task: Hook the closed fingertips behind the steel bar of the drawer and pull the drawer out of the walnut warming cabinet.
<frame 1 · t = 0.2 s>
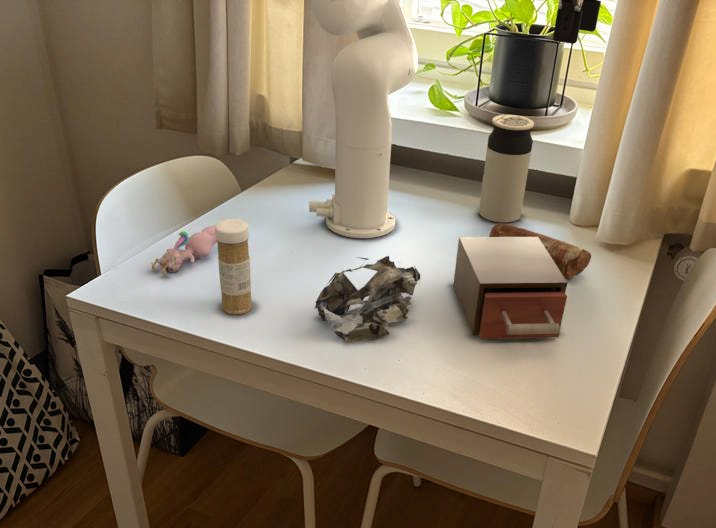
hand: (574, 35, 106), 37 cm above the table, tool pointing down, fingers open, 9 cm apart
bread: (531, 262, 131), on the table
foil: (367, 321, 112), on the table
drawer: (515, 302, 110), point 4 cm above the table, slide at 1.0 cm
warmer: (502, 309, 117), on the table
sprinkles bottle: (237, 309, 113), on the table
travel mug: (499, 216, 146), on the table
rabbit figure: (194, 260, 125), on the table
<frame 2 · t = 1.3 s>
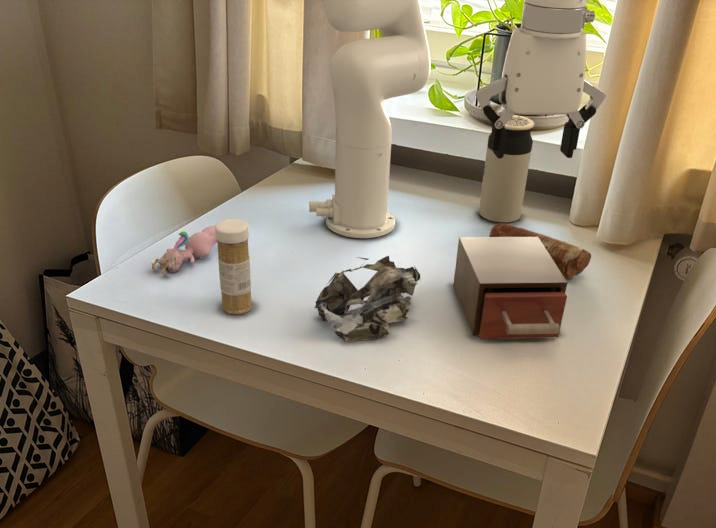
hand: (532, 154, 104), 24 cm above the table, tool pointing down, fingers open, 9 cm apart
nothing on the table moved.
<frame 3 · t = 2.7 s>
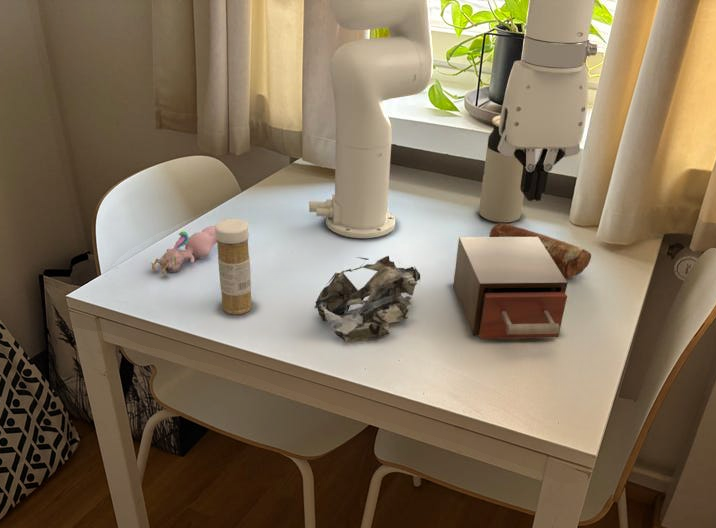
hand: (531, 196, 103), 20 cm above the table, tool pointing down, fingers closed
nothing on the table moved.
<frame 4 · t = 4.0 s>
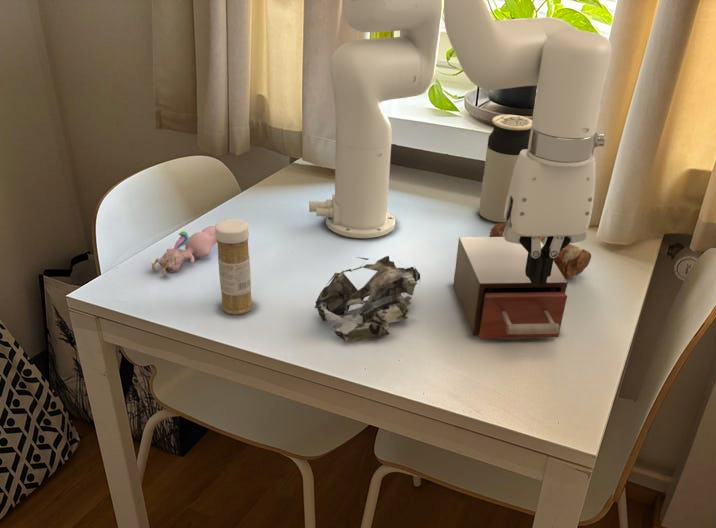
hand: (536, 280, 101), 11 cm above the table, tool pointing down, fingers closed
nothing on the table moved.
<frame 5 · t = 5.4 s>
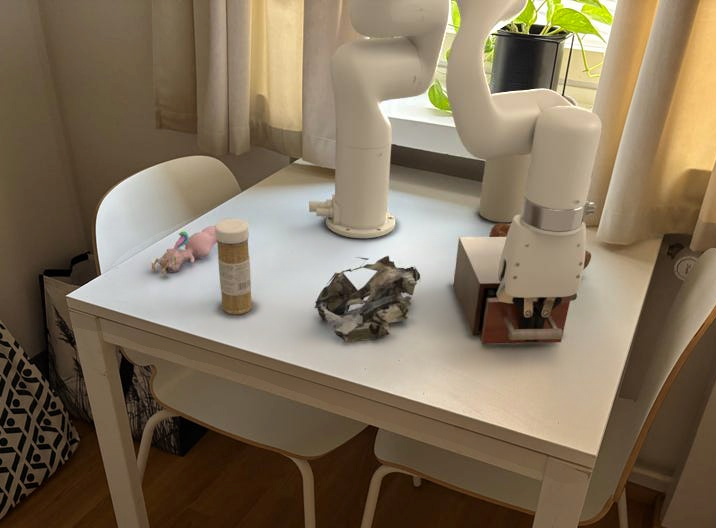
hand: (528, 336, 105), 3 cm above the table, tool pointing down, fingers closed
drawer: (517, 306, 109), point 4 cm above the table, slide at 2.3 cm, touching gripper
everything else where it was.
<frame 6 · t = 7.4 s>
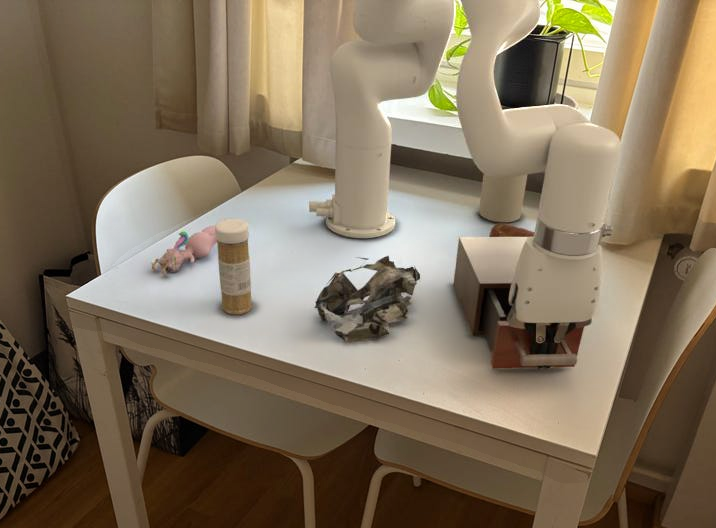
hand: (540, 362, 100), 3 cm above the table, tool pointing down, fingers closed
drawer: (529, 329, 104), point 4 cm above the table, slide at 8.3 cm
everything else where it was.
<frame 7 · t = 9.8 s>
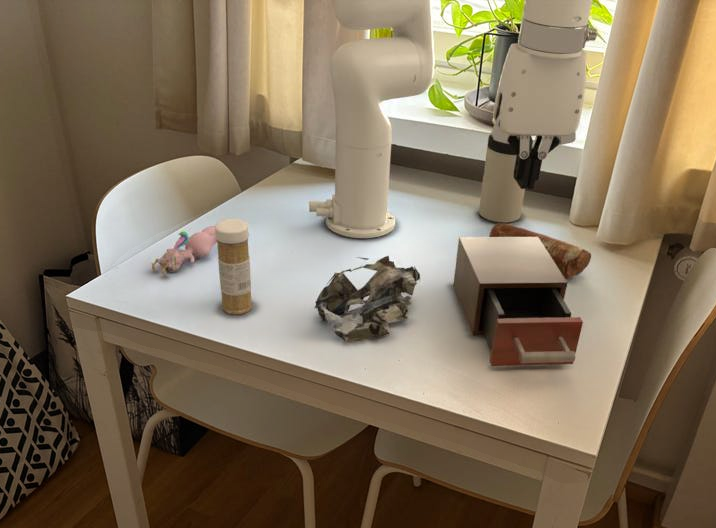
hand: (524, 184, 100), 22 cm above the table, tool pointing down, fingers closed
drawer: (528, 326, 105), point 4 cm above the table, slide at 7.7 cm
everything else where it was.
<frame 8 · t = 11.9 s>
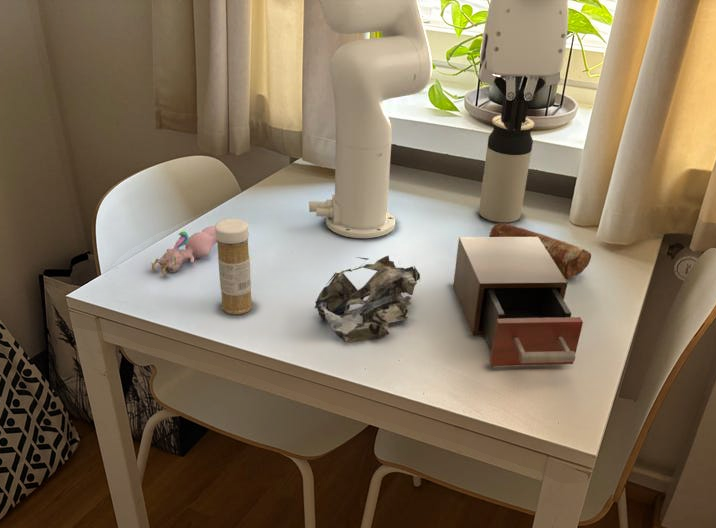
hand: (511, 127, 103), 27 cm above the table, tool pointing down, fingers closed
nothing on the table moved.
at the end: drawer slide at 7.7 cm; the gripper is holding nothing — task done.
